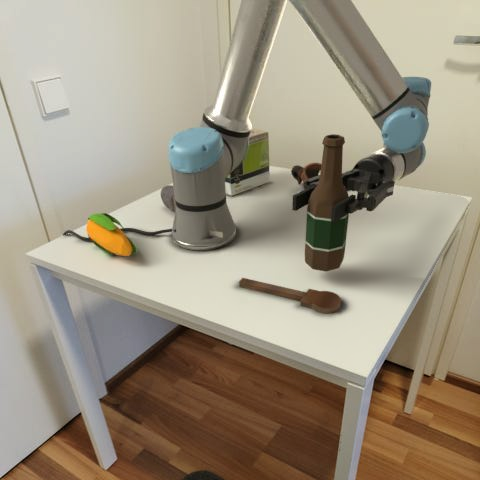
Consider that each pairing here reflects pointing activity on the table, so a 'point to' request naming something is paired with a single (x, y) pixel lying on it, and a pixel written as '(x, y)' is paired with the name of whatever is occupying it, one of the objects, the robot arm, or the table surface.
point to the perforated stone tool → (168, 197)
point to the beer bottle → (327, 211)
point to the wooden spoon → (298, 295)
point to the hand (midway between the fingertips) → (313, 208)
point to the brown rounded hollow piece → (306, 172)
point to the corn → (109, 235)
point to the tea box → (251, 165)
